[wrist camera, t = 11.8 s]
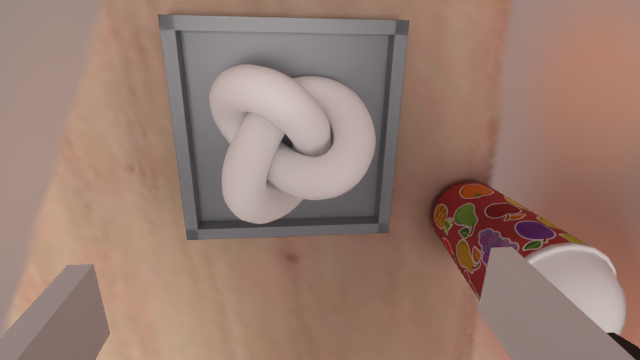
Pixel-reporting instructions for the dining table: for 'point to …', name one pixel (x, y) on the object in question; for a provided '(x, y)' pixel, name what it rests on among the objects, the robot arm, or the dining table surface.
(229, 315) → the dining table surface
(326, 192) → the white trefoil knot
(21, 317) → the robot arm
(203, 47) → the tray
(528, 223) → the smoothie
